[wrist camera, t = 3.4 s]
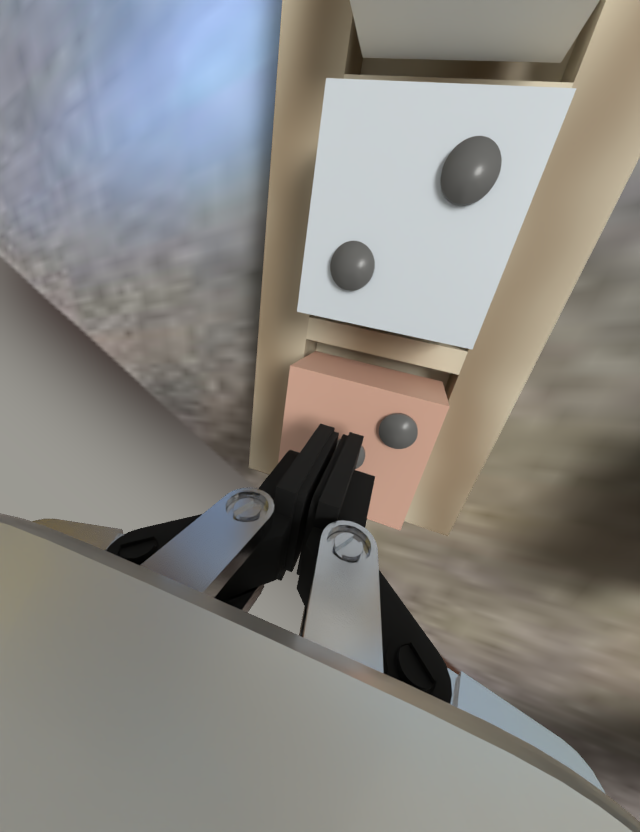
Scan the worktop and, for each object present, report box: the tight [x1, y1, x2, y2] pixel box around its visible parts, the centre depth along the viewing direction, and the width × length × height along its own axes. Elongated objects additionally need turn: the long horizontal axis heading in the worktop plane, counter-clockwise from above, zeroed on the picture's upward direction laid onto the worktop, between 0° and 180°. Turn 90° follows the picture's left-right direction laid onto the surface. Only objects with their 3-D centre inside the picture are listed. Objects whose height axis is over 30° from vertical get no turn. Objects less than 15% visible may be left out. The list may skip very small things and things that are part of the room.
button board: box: [249, 0, 640, 536], centre depth 12 cm, size 12×26×3 cm, turn 170°
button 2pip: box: [297, 78, 577, 349], centre depth 10 cm, size 6×6×3 cm
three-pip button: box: [278, 351, 450, 530], centre depth 13 cm, size 6×6×3 cm
